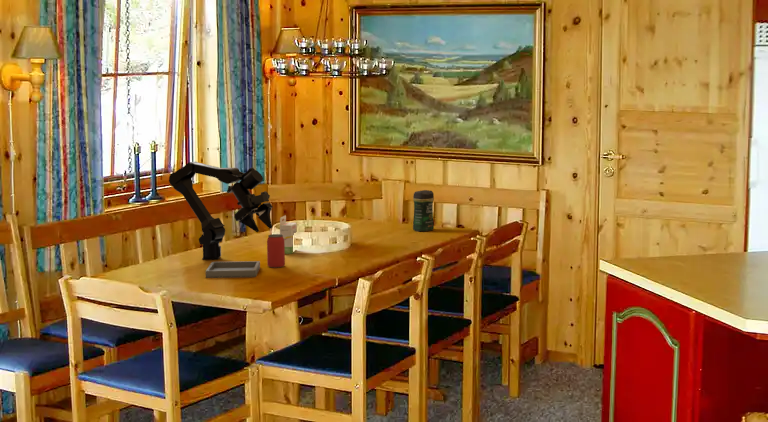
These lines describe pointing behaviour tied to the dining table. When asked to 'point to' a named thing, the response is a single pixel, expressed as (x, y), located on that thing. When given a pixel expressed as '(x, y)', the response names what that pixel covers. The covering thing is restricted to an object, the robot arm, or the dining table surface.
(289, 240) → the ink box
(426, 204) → the coffee jar
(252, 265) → the parts tray
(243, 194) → the robot arm
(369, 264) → the dining table surface
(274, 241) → the beer can
